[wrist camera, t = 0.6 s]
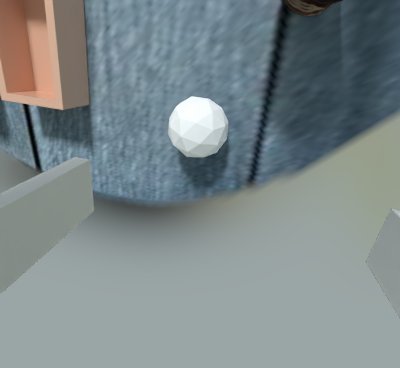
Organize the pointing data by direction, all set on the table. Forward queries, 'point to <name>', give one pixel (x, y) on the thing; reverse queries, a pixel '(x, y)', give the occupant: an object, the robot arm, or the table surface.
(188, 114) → the geometric ball
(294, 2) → the coffee cup
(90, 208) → the robot arm
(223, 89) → the table surface
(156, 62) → the table surface
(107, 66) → the table surface
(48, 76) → the terracotta dish
